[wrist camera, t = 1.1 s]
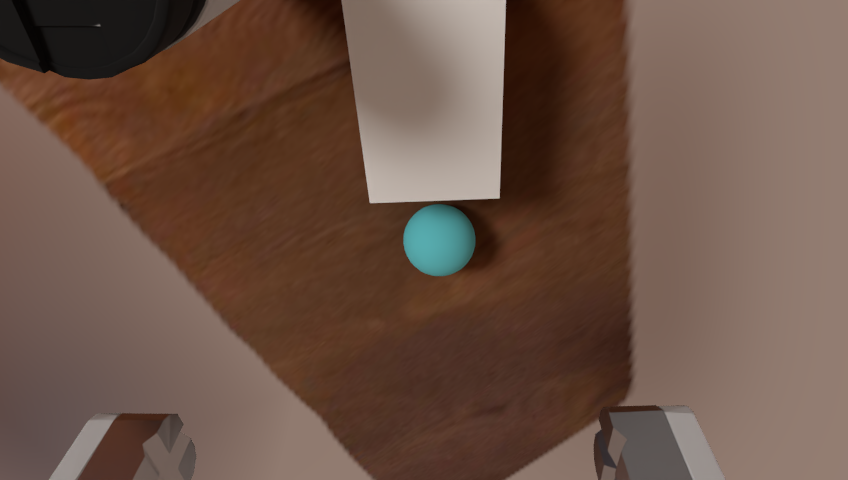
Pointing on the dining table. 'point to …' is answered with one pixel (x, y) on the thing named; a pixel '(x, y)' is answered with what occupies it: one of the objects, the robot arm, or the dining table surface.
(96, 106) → the dining table surface
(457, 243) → the ball
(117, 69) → the travel mug
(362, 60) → the off-white rectangular block
